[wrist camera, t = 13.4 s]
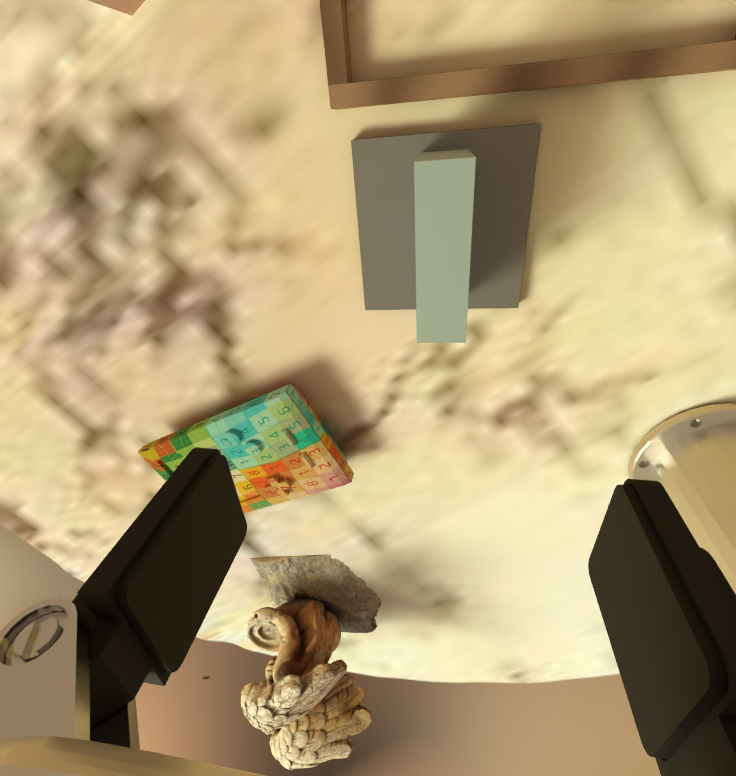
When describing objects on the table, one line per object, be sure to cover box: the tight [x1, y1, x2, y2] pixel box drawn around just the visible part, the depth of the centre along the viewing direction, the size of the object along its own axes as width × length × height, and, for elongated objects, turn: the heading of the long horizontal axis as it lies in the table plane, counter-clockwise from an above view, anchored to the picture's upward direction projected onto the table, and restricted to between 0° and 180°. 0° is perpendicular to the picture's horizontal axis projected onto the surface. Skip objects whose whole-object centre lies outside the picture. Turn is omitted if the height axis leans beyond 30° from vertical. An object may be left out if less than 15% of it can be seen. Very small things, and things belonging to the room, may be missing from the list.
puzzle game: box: [138, 384, 354, 513], centre depth 44 cm, size 12×5×20 cm
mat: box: [351, 124, 541, 310], centre depth 30 cm, size 12×12×1 cm
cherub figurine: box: [241, 555, 381, 769], centre depth 52 cm, size 18×18×18 cm
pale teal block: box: [414, 149, 476, 343], centre depth 26 cm, size 3×10×8 cm, turn 5°
